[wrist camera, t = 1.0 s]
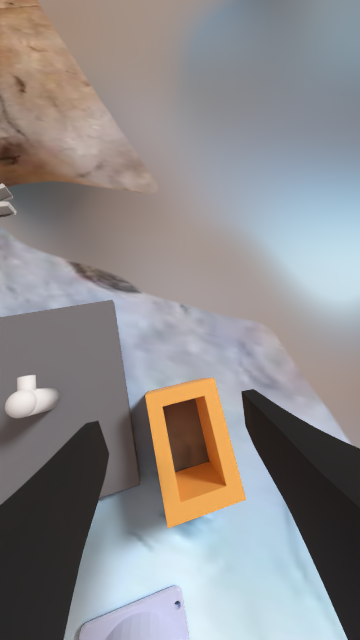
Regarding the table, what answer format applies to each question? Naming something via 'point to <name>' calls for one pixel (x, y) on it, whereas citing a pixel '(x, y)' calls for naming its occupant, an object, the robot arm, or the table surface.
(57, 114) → the table surface
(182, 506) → the orange link
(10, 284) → the table surface
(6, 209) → the pliers
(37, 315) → the hook board
